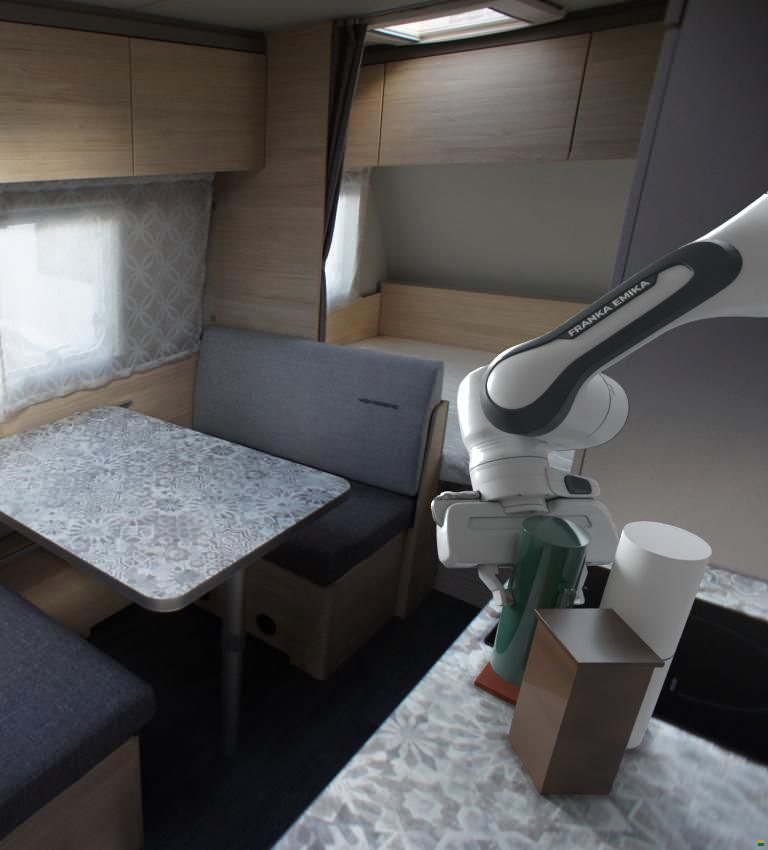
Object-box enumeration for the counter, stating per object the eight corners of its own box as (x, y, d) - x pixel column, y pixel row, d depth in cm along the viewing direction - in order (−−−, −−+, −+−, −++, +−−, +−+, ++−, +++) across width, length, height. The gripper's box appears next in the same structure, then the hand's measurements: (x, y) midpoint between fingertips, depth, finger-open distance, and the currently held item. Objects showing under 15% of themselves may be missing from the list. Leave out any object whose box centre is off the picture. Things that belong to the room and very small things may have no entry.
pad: (497, 652, 88) (498, 648, 88) (558, 681, 83) (560, 676, 83) (473, 685, 83) (474, 680, 83) (537, 717, 78) (539, 712, 78)
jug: (480, 650, 85) (511, 515, 78) (533, 650, 85) (569, 514, 77) (514, 702, 78) (551, 557, 70) (572, 702, 77) (616, 557, 70)
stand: (571, 737, 76) (611, 608, 69) (615, 799, 69) (665, 662, 61) (501, 736, 76) (534, 608, 69) (537, 799, 69) (578, 662, 62)
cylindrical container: (644, 760, 73) (717, 568, 63) (567, 733, 76) (625, 547, 66) (639, 715, 78) (705, 532, 68) (568, 692, 82) (621, 514, 72)
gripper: (438, 484, 80) (461, 603, 75) (612, 481, 80) (647, 600, 75) (419, 499, 86) (439, 609, 81) (580, 495, 86) (611, 606, 81)
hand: (540, 605), depth 78 cm, fingers closed on jug, 6 cm apart
